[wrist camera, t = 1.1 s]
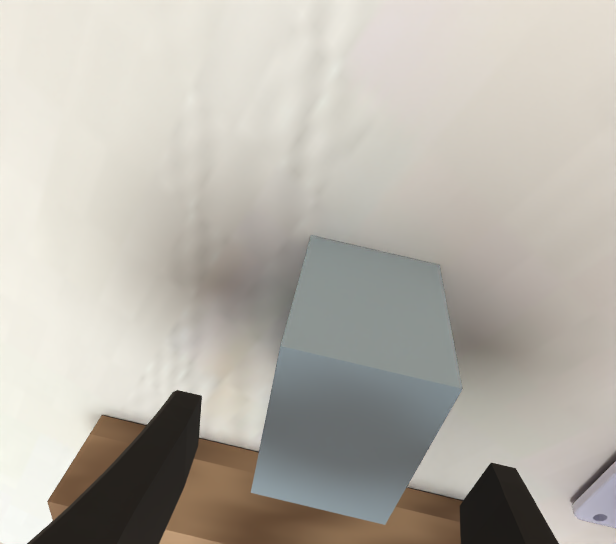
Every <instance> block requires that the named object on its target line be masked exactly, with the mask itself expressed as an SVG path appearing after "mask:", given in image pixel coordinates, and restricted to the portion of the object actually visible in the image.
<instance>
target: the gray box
mask: <svg viewBox="0 0 616 544" xmlns="http://www.w3.org/2000/svg"><path fill="white" fill-rule="evenodd" d="M461 391H462V383H461V378H460V372H459V367H458V362H457V356H456V351H455V346H454V340H453V335H452V330H451V324H450V319H449V313H448V308H447V303H446V297H445V292H444V287H443V281H442V276H441V270H440V265H438V264H434V263H429V262H425V261H421V260H416V259H412V258H408V257H403V256H399V255H395V254H390V253H386V252H381V251H377V250H373V249H368V248H364V247H360V246H355V245H351V244H347V243H342V242H338V241H334V240H329V239H325V238H321V237H316V236H312V235H311V237H310V241H309V245H308V248H307V252H306V255H305V259H304V263H303V266H302V270H301V274H300V277H299V281H298V284H297V288H296V292H295V295H294V299H293V302H292V306H291V310H290V313H289V317H288V320H287V324H286V328H285V331H284V335H283V338H282V342H281V346H280V351H279V355H278V360H277V365H276V370H275V375H274V380H273V385H272V390H271V395H270V400H269V405H268V410H267V415H266V420H265V425H264V429H263V434H262V439H261V444H260V449H259V454H258V459H257V464H256V469H255V474H254V479H253V484H252V489H251V493H254V494H258V495H262V496H267V497H271V498H275V499H279V500H283V501H288V502H292V503H296V504H300V505H304V506H308V507H313V508H317V509H321V510H325V511H329V512H333V513H338V514H342V515H346V516H350V517H354V518H358V519H363V520H367V521H371V522H375V523H379V524H383V525H385V524H386V522H387V521H388V519H389V517H390V515H391V514H392V512H393V510H394V508H395V507H396V505H397V503H398V501H399V500H400V498H401V496H402V494H403V493H404V491H405V489H406V487H407V486H408V484H409V482H410V480H411V478H412V477H413V475H414V473H415V471H416V470H417V468H418V466H419V464H420V463H421V461H422V459H423V457H424V456H425V454H426V452H427V450H428V449H429V447H430V445H431V443H432V442H433V440H434V438H435V436H436V435H437V433H438V431H439V429H440V428H441V426H442V424H443V422H444V420H445V419H446V417H447V415H448V413H449V412H450V410H451V408H452V406H453V405H454V403H455V401H456V399H457V398H458V396H459V394H460V392H461Z"/></svg>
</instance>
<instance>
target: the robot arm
mask: <svg viewBox="0 0 616 544" xmlns="http://www.w3.org/2000/svg"><path fill="white" fill-rule="evenodd" d="M201 400H202V396H200V395H196V394H192V393H187V392H183V391H179V390H177V391H175V392H173V393H172V394H171V396H170V397H169V398H168V400H167V401H166V402H165V404H164V405H163V406H162V407H161V409H160V410H159V411H158V412H157V414H156V415H155V416H154V417H153V419H152V420H151V421H150V422H149V423H148V425H147V426H146V427H145V428H144V429H143V430H142V431H141V433H140V434H139V435H138V436H137V437H136V438H135V439H134V441H133V442H132V443H131V444H130V445H129V446H128V447H127V448H126V449H125V450H124V451H123V452H122V453H121V455H120V456H119V457H118V458H117V459H116V460H115V461H114V462H113V463H112V464H111V465H110V466H109V467H108V468H107V469H106V470H105V472H104V473H103V474H102V475H100V476H99V477H98V478H97V479H96V480H95V481H94V482H93V483H92V484H91V485H90V486H89V487H88V488H87V489H86V490H85V491H84V492H83V493H82V494H81V495H80V496H79V497H78V498H77V499H76V500H75V501H74V502H73V503H72V504H71V505H70V506H69V507H68V508H67V509H65V510H64V511H63V512H62V513H61V514H60V515H59V516H58V517H57V518H56V519H55V520H53V521H52V522H51V523H50V524H49V525H48V526H47V527H46V528H44V529H43V530H42V531H41V532H40V533H39V534H38V535H36V536H35V537H34V538H33V539H32V540H31V541H30V542H28V543H27V544H159V543H160V541H161V538H162V536H163V534H164V532H165V529H166V527H167V525H168V523H169V521H170V518H171V516H172V514H173V512H174V509H175V507H176V505H177V503H178V500H179V498H180V496H181V493H182V491H183V489H184V486H185V484H186V481H187V478H188V475H189V472H190V469H191V466H192V463H193V460H194V457H195V454H196V451H197V448H198V442H199V428H200V414H201ZM572 510H573V512H574V515H575V517H576V518H578V519H580V520H583V521H587V522H592V523H596V524H600V525H604V526H608V527H613V528H616V461H615V462H614V463H613V464H612V465H611V466H610V467H609V468H608V469H607V470H606V471H605V472H604V473H603V474H602V475H601V476H600V477H599V478H598V479H597V480H596V481H595V482H594V483H593V484H592V485H591V486H590V487H589V488H588V489H587V490H586V491H585V492H584V493H583V494H582V495H581V496H580V497H579V498H578V499H577V500H576V501H575V502H574V503H573V505H572ZM460 536H461V544H559V543H558V541H557V540H556V538H555V536H554V535H553V533H552V531H551V529H550V528H549V526H548V524H547V522H546V521H545V519H544V517H543V515H542V514H541V512H540V510H539V508H538V507H537V505H536V503H535V501H534V499H533V498H532V496H531V494H530V492H529V491H528V489H527V487H526V485H525V484H524V482H523V480H522V478H521V477H520V475H519V473H518V472H517V470H516V468H512V467H508V466H503V465H499V464H495V463H490V465H489V466H488V467H487V469H486V470H485V472H484V473H483V474H482V476H481V477H480V478H479V480H478V481H477V483H476V484H475V485H474V487H473V488H472V489H471V491H470V492H469V494H468V495H467V496H466V498H465V499H464V500H463V502H462V503H461V505H460Z"/></svg>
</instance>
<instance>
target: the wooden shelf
mask: <svg viewBox="0 0 616 544" xmlns="http://www.w3.org/2000/svg"><path fill="white" fill-rule="evenodd" d="M145 427H146V426H145V425H141V424H137V423H132V422H128V421H124V420H120V419H116V418H111V417H107V416H103V415H102V416H101V417H100V419H99V421H98V422H97V424H96V425H95V427H94V429H93V430H92V432H91V433H90V435H89V436H88V438H87V440H86V441H85V443H84V444H83V446H82V447H81V449H80V451H79V452H78V454H77V455H76V457H75V459H74V460H73V462H72V463H71V465H70V466H69V468H68V470H67V471H66V473H65V474H64V476H63V477H62V479H61V481H60V482H59V484H58V485H57V487H56V489H55V490H54V492H53V493H52V495H51V496H50V498H49V500H48V501H47V502H48V505H49V509H50V512H51V516H52V519H53V520H55V519H56V518H57V517H58V516H59V515H60V514H61V513H62V512H63V511H64V510H65V509H67V508H68V507H69V506H70V505H71V504H72V503H73V502H74V501H75V500H76V499H77V498H78V497H79V496H80V495H81V494H82V493H83V492H84V491H85V490H86V489H87V488H88V487H89V486H90V485H91V484H92V483H93V482H94V481H95V480H96V479H97V478H98V477H99V476H100V475H102V474H103V473H104V472H105V470H106V469H107V468H108V467H109V466H110V465H111V464H112V463H113V462H114V461H115V460H116V459H117V458H118V457H119V456H120V455H121V453H122V452H123V451H124V450H125V449H126V448H127V447H128V446H129V445H130V444H131V443H132V442H133V441H134V439H135V438H136V437H137V436H138V435H139V434H140V433H141V431H142V430H143V429H144V428H145ZM258 454H259V452H254V451H250V450H246V449H242V448H238V447H233V446H229V445H225V444H221V443H217V442H212V441H208V440H204V439H200V438H199V442H198V448H197V451H196V454H195V457H194V460H193V463H192V466H191V469H190V472H189V475H188V478H187V481H186V484H185V486H184V489H183V491H182V493H181V496H180V498H179V500H178V503H177V505H176V507H175V509H174V512H173V514H172V516H171V518H170V521H169V523H168V525H167V527H166V529H165V532H164V534H163V536H162V538H161V541H160V543H159V544H461V536H460V505H461V503H462V502H463V501H461V500H457V499H452V498H448V497H444V496H440V495H435V494H431V493H427V492H423V491H419V490H414V489H410V488H406V489H405V491H404V493H403V494H402V496H401V498H400V500H399V501H398V503H397V505H396V507H395V508H394V510H393V512H392V514H391V515H390V517H389V519H388V521H387V522H386V524H385V525H383V524H379V523H375V522H371V521H367V520H363V519H358V518H354V517H350V516H346V515H342V514H338V513H333V512H329V511H325V510H321V509H317V508H313V507H308V506H304V505H300V504H296V503H292V502H288V501H283V500H279V499H275V498H271V497H267V496H262V495H258V494H254V493H251V489H252V484H253V479H254V474H255V469H256V464H257V459H258Z"/></svg>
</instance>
